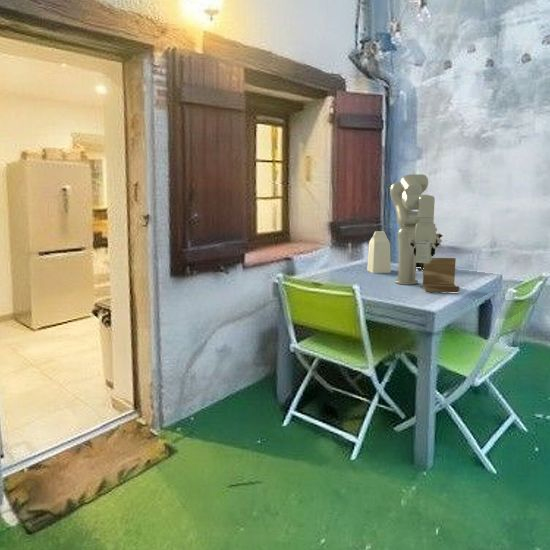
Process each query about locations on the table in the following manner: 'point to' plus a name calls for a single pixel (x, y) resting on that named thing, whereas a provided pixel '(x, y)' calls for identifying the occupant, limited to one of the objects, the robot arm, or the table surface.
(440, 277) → the cleat board
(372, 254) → the milk
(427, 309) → the table surface
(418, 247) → the light bulb box
